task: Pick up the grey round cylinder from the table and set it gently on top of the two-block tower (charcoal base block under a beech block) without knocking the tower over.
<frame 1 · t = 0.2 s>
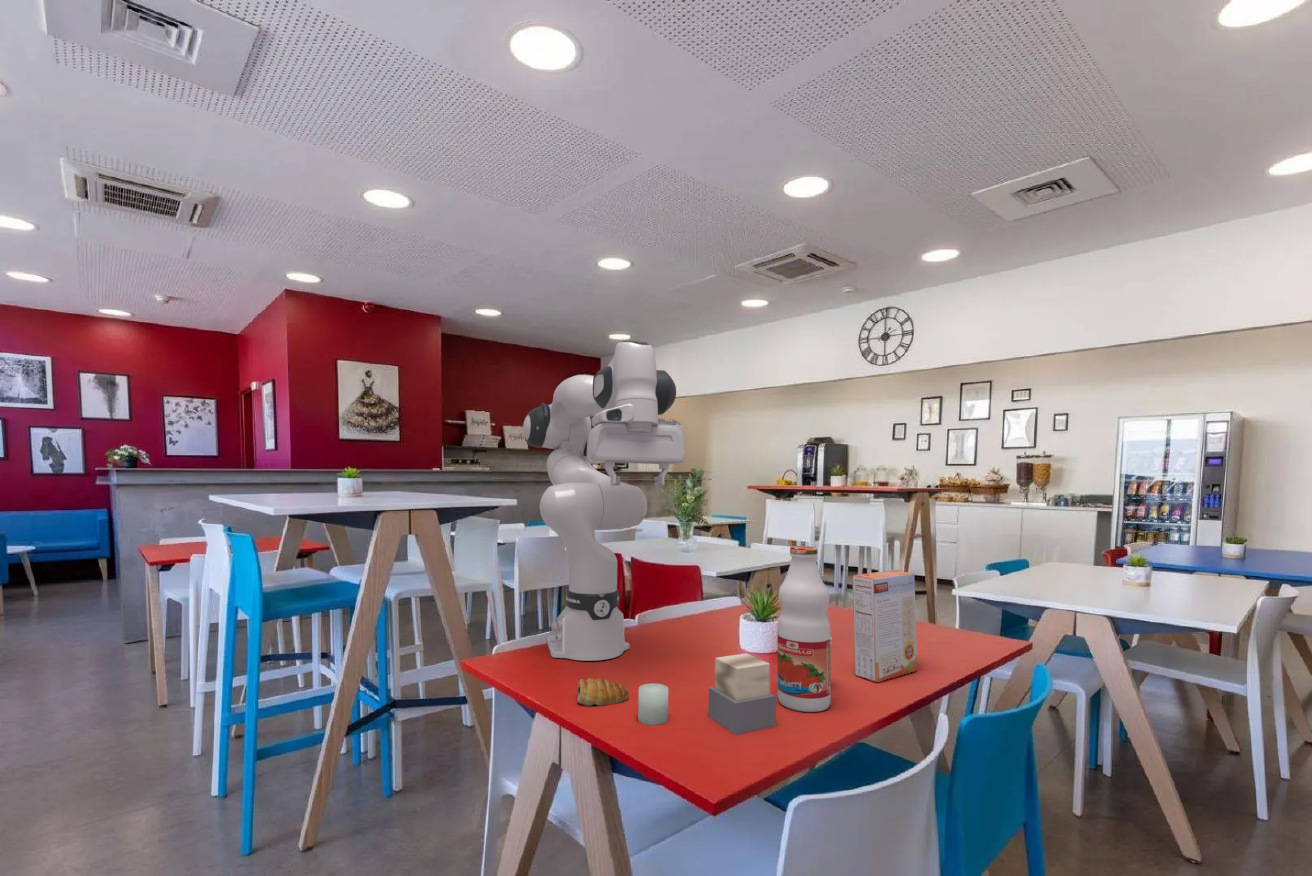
hand: (637, 485, 119), 39 cm above the table, tool pointing down, fingers open, 8 cm apart
pastry: (598, 701, 109), on the table
cracker box: (885, 675, 126), on the table
fruit juice: (803, 704, 108), on the table
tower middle: (741, 691, 100), point 5 cm above the table
smoothie: (815, 687, 117), on the table
grey round cylinder: (653, 719, 100), on the table
tower base: (741, 722, 100), on the table
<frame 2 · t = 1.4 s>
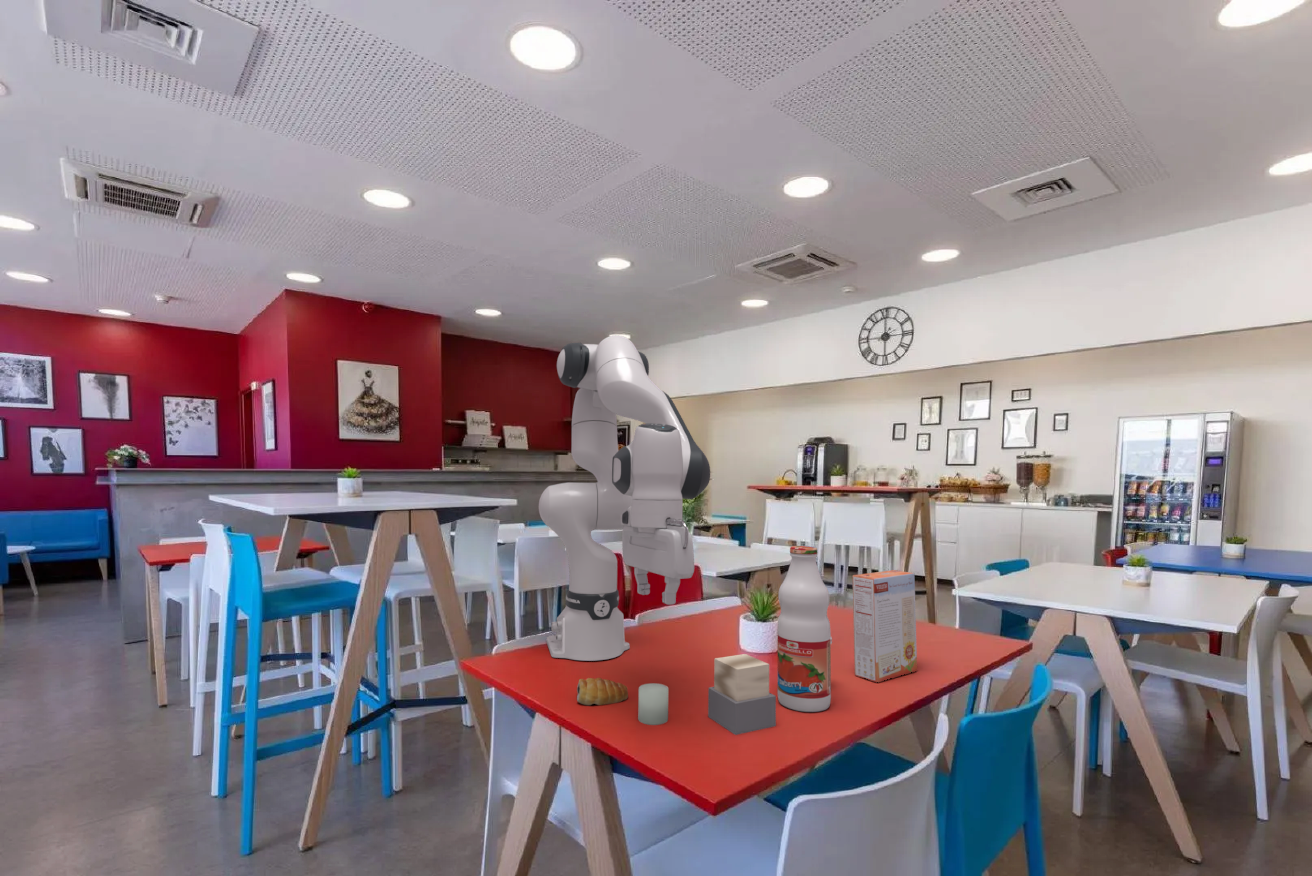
hand: (655, 598, 102), 20 cm above the table, tool pointing down, fingers open, 8 cm apart
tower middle: (741, 691, 100), point 5 cm above the table, touching tower base
tower base: (741, 722, 100), on the table, touching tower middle
everything else where it was.
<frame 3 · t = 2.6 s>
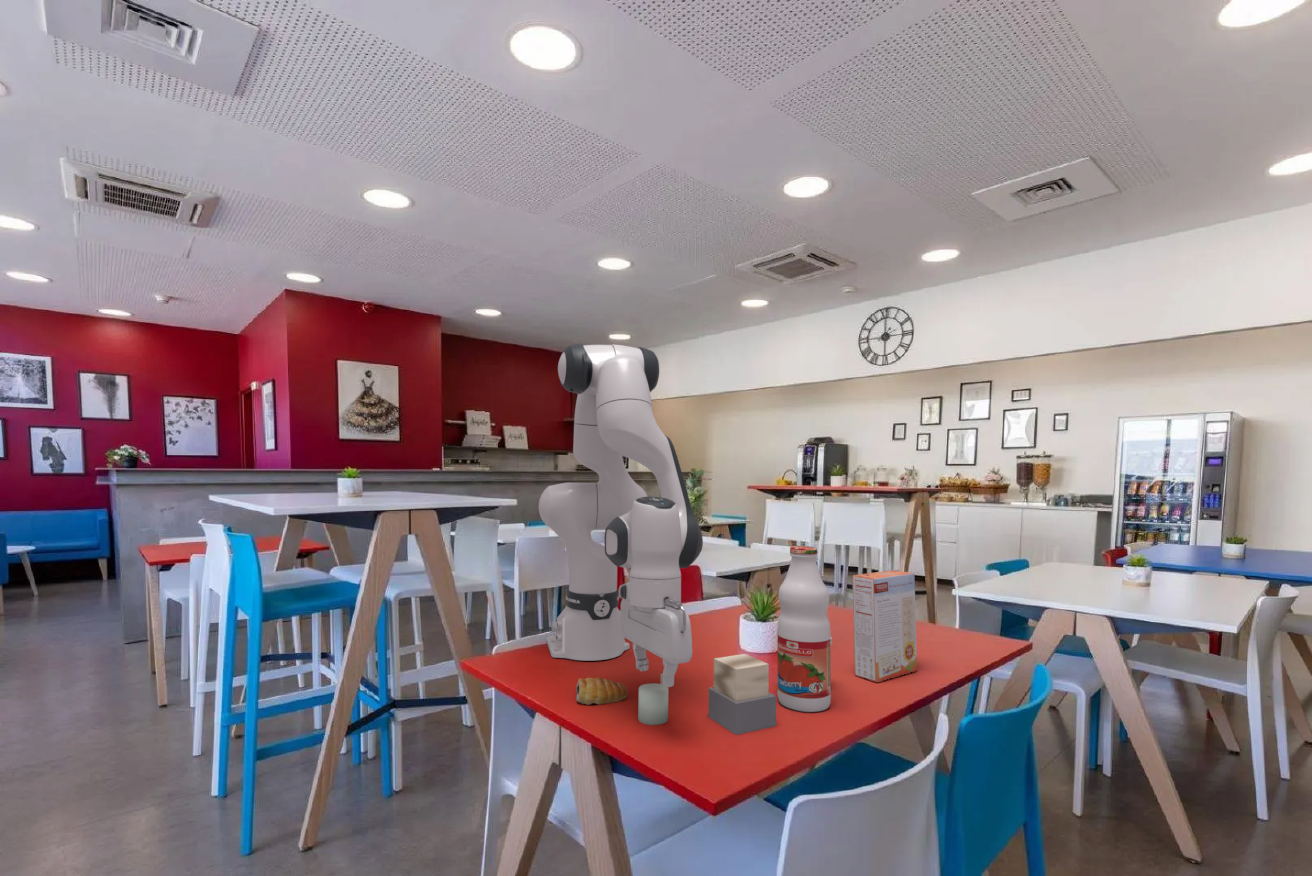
hand: (654, 677, 100), 7 cm above the table, tool pointing down, fingers open, 8 cm apart
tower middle: (740, 691, 100), point 5 cm above the table
tower base: (741, 722, 100), on the table
everything else where it was.
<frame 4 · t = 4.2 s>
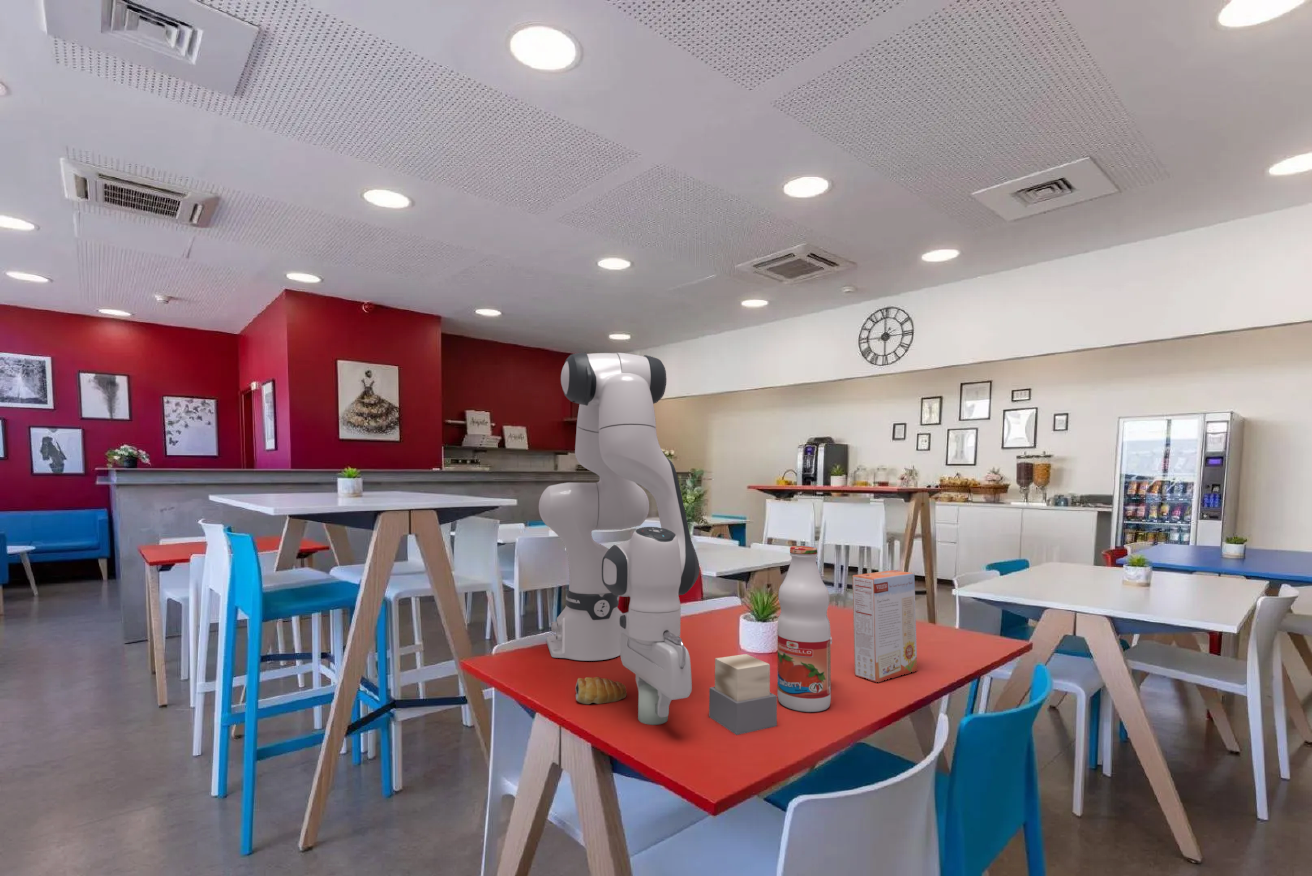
hand: (653, 708, 100), 2 cm above the table, tool pointing down, fingers closed on grey round cylinder, 5 cm apart
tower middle: (741, 692, 100), point 5 cm above the table, touching tower base
grey round cylinder: (653, 718, 100), on the table, touching gripper
tower base: (742, 722, 100), on the table, touching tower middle
everything else where it was.
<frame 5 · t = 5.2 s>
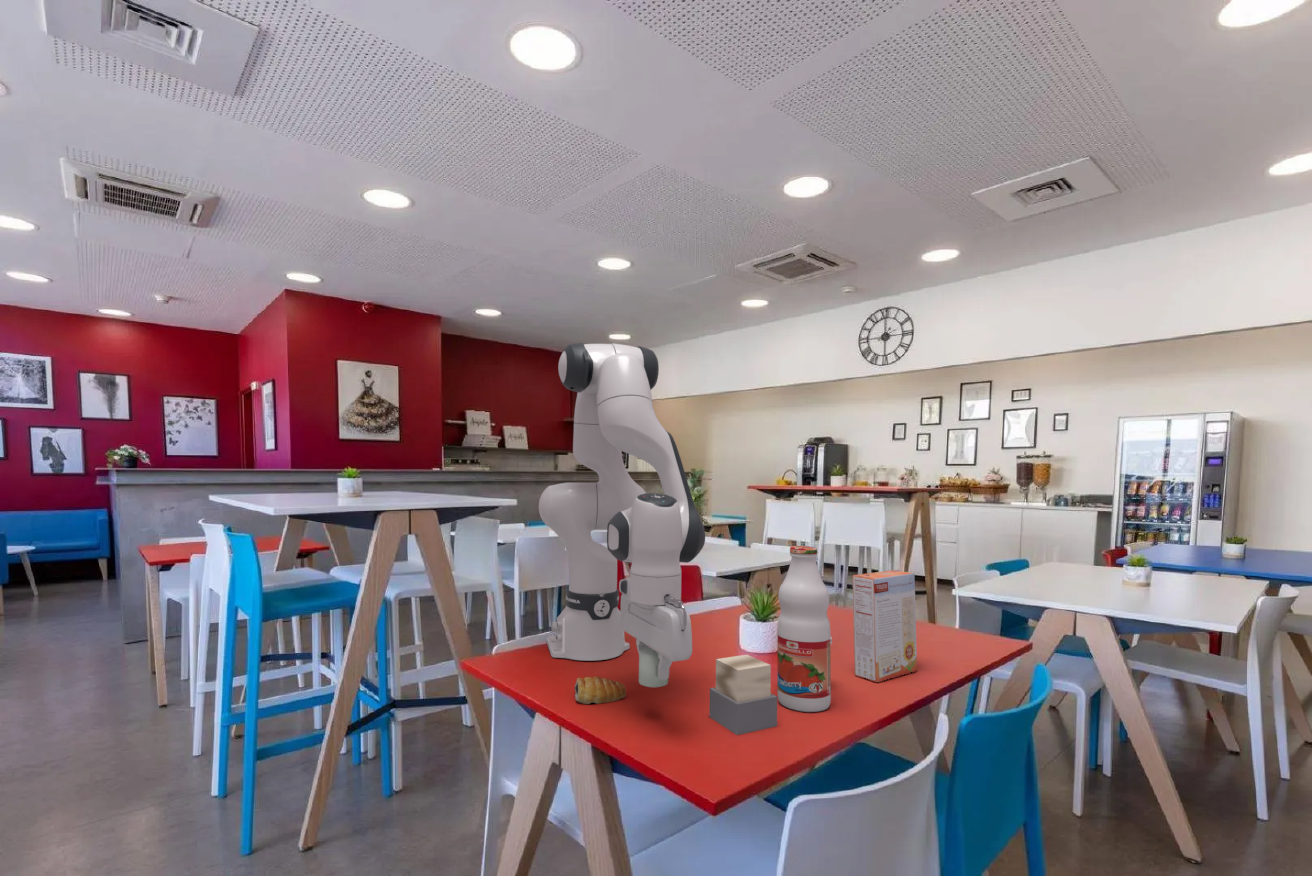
hand: (653, 671, 102), 7 cm above the table, tool pointing down, fingers closed on grey round cylinder, 5 cm apart
grey round cylinder: (653, 681, 101), point 6 cm above the table, touching gripper
everything else where it was.
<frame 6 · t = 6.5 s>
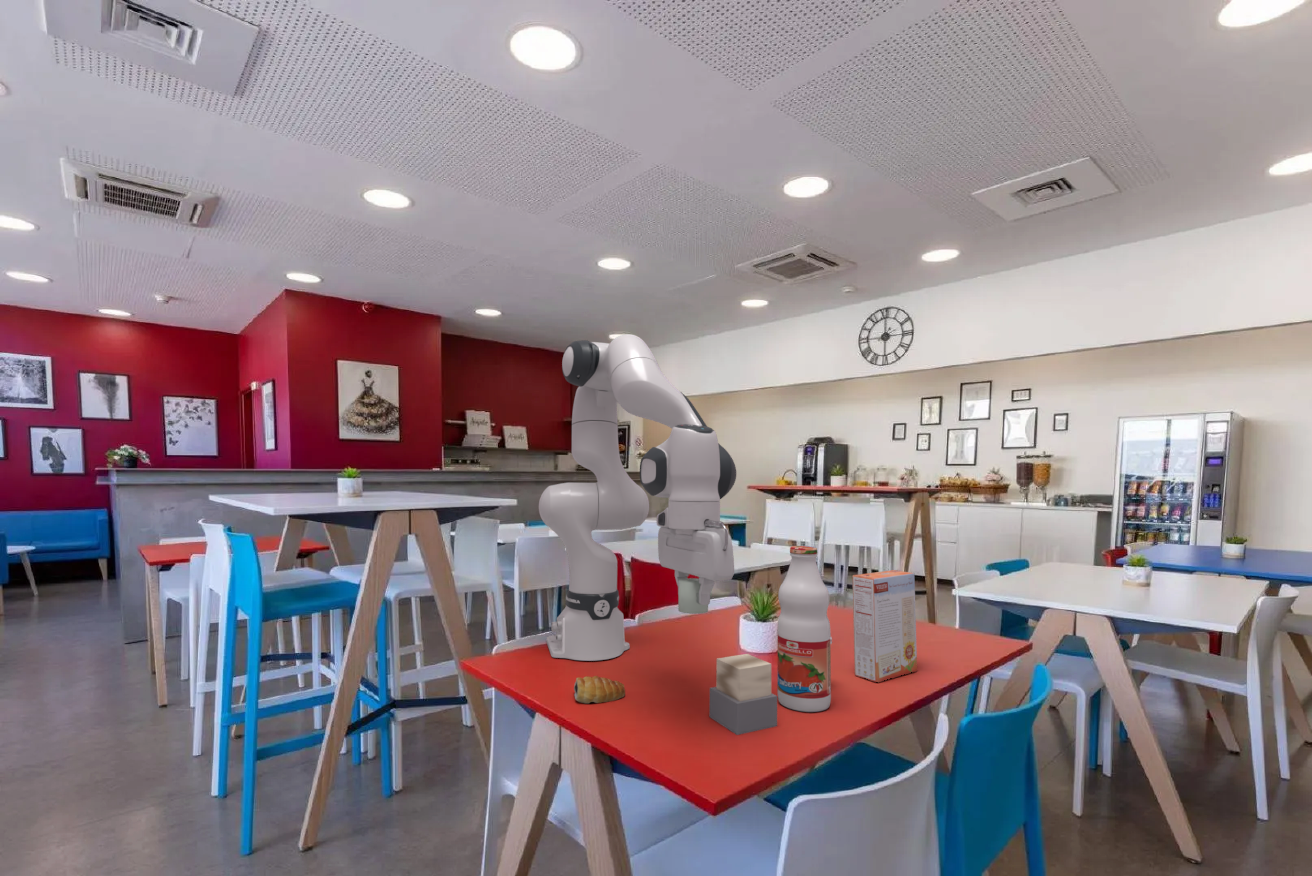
hand: (693, 600, 101), 20 cm above the table, tool pointing down, fingers closed on grey round cylinder, 5 cm apart
grey round cylinder: (693, 610, 101), point 18 cm above the table, touching gripper
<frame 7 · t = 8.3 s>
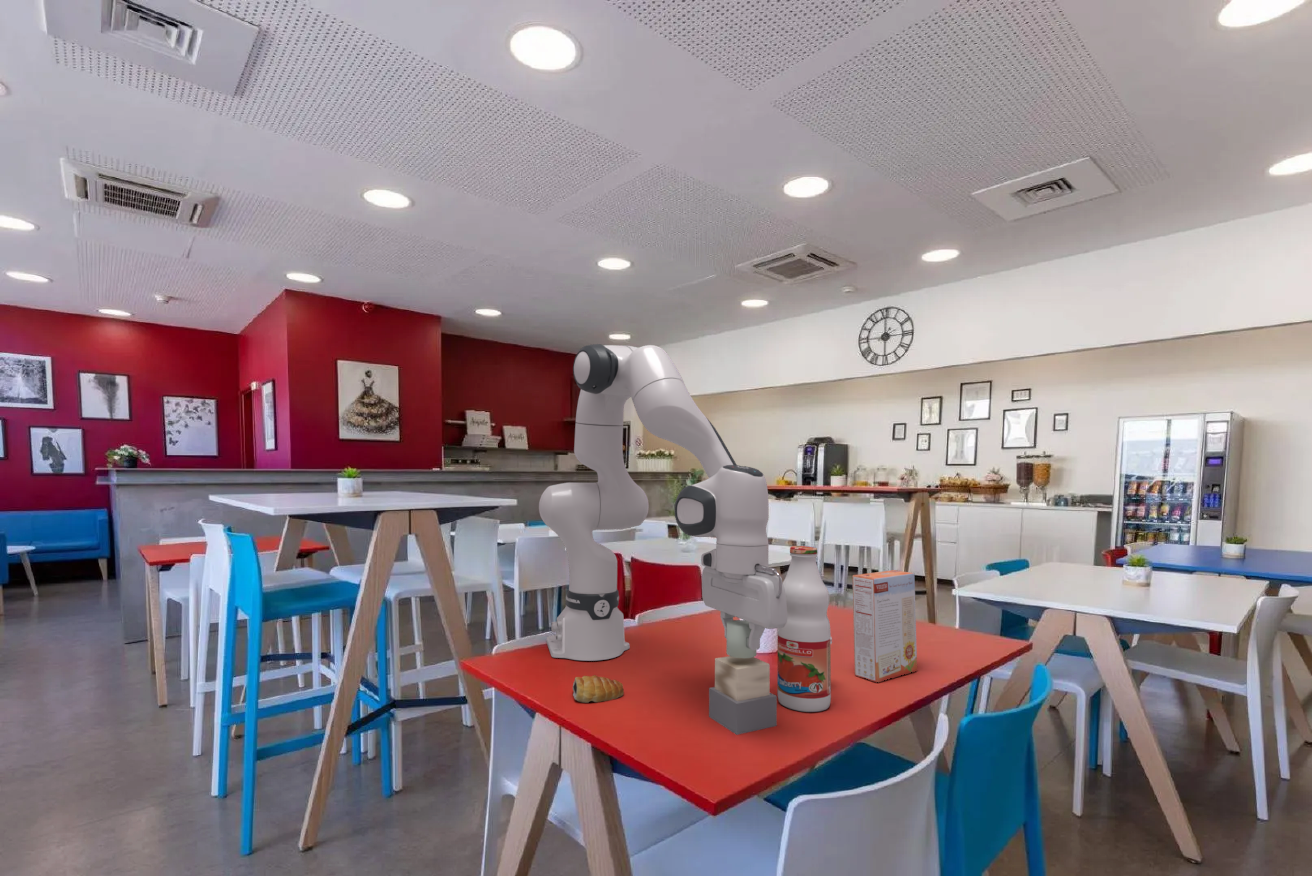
hand: (741, 643, 101), 13 cm above the table, tool pointing down, fingers closed on grey round cylinder, 5 cm apart
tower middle: (741, 691, 100), point 5 cm above the table
grey round cylinder: (741, 653, 101), point 11 cm above the table, touching gripper
tower base: (742, 722, 100), on the table
when the fingers open (13 cm above the table, at t = 8.9 s): grey round cylinder drops 1 cm, resting on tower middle.
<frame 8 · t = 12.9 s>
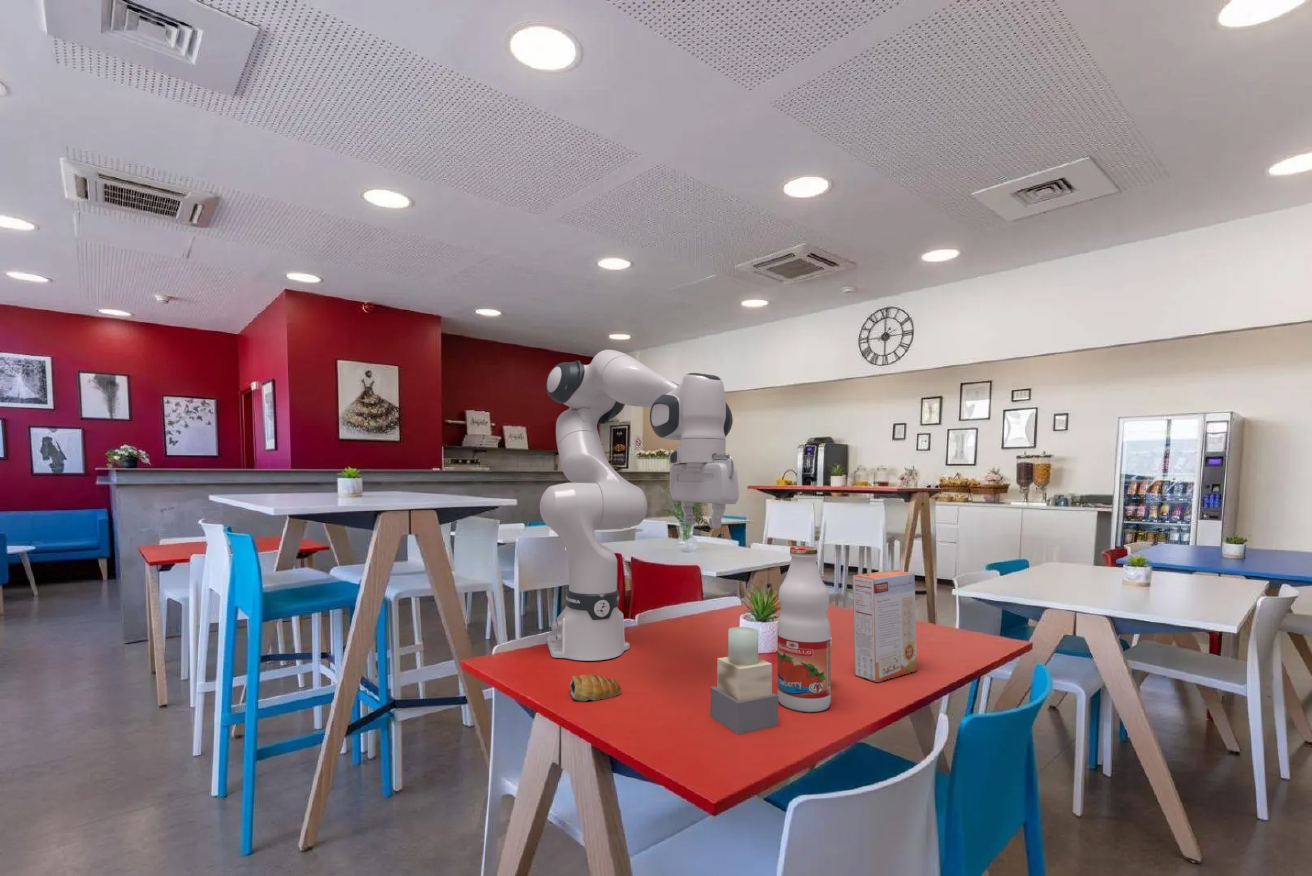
hand: (702, 526, 116), 31 cm above the table, tool pointing down, fingers open, 8 cm apart
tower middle: (744, 691, 100), point 5 cm above the table, touching grey round cylinder, tower base
grey round cylinder: (743, 660, 101), point 10 cm above the table, touching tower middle
tower base: (743, 722, 100), on the table, touching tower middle
at the end: grey round cylinder 0.2 cm off-centre on the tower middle, point 5.0 cm above the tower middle's base; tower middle 0.4 cm from the target spot, point 4.8 cm above the table; grey round cylinder tilted 0° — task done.
